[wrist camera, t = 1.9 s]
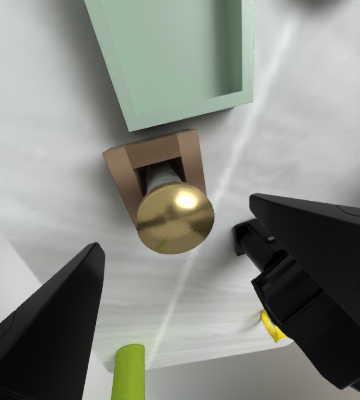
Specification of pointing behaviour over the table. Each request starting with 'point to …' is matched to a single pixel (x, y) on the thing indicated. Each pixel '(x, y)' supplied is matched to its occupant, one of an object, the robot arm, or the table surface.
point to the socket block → (149, 154)
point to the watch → (277, 336)
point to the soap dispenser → (129, 373)
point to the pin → (172, 212)
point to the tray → (176, 56)
